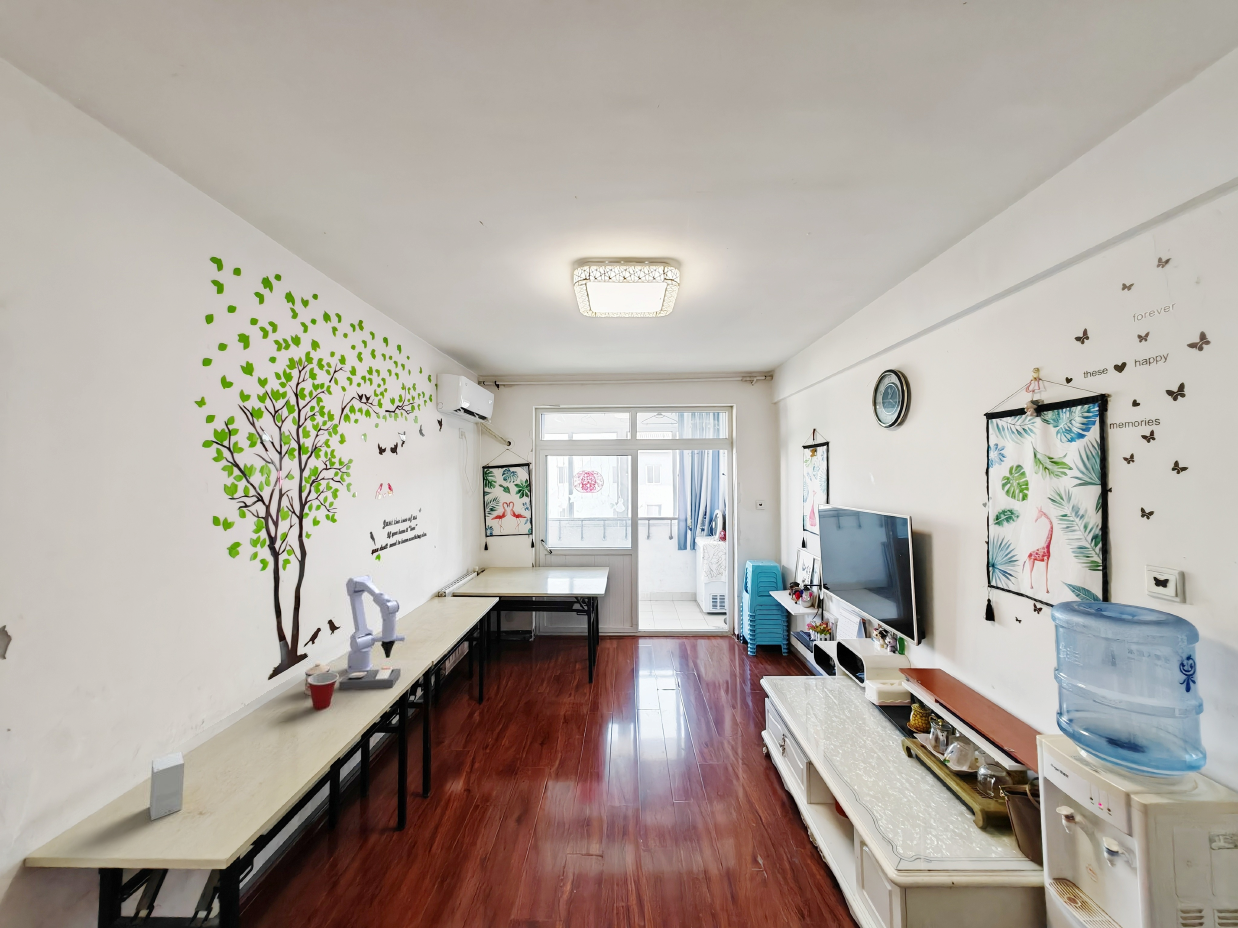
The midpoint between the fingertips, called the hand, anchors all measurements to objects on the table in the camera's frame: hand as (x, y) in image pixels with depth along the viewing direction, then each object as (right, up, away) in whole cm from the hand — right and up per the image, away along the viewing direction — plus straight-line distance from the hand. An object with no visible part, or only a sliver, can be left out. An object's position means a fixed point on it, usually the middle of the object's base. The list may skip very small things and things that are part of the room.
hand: (387, 657), depth 221 cm
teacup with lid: (-22, -9, -15) cm, 28 cm away
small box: (-20, -7, -88) cm, 90 cm away
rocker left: (-10, -5, -7) cm, 13 cm away
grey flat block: (-5, -9, -6) cm, 12 cm away
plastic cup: (-13, -9, -29) cm, 33 cm away
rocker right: (+1, -6, -5) cm, 8 cm away
